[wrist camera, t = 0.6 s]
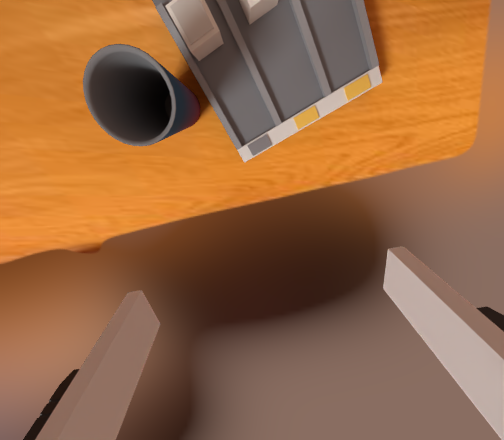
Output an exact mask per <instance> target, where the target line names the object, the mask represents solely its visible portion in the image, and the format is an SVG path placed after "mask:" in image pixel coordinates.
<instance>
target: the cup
mask: <svg viewBox="0 0 504 440" xmlns="http://www.w3.org/2000/svg"><path fill="white" fill-rule="evenodd" d="M83 90H84V95H85V100H86V103H87V105H88V108H89V110H90V112H91V114H92V115H93V117H94V119H95V120H96V121H97V123H98V124H99V125H100V127H101V128H102V129H104V130H105V131H106V132H107V133H108V134H109V135H111V136H112V137H113V138H115V139H116V140H119V141H121V142H123V143H125V144H129V145H133V146H147V145H151V144H154V143H157V142H159V141H161V140H163V139H165V138H167V137H169V136H171V135H173V134H176V133H178V132H180V131H182V130H184V129H186V128H188V127H190V126H192V125H194V124H195V123H196V122H197V120H198V118H199V116H200V104H199V101H198V99H197V97H196V96H195V95H194V93H193V92H192V91H190V90H189V89H188V88H187V87H186V86H185V85H184V84H182V83H181V82H180V81H179V80H178V79H177V78H175V77H174V76H173V75H172V74H171V73H170V72H169V71H167V70H166V69H165V68H164V67H163V66H162V65H161V64H159V63H158V62H157V61H156V60H155V59H154V58H152V57H151V56H150V55H149V54H148V53H146V52H144V51H142V50H140V49H139V48H136V47H133V46H130V45H124V44H114V45H108V46H106V47H104V48H102V49H100V50H99V51H97V52H96V53H95V54H94V55H93V56H92V57H91V59H90V60H89V62H88V64H87V66H86V69H85V72H84V78H83Z"/></svg>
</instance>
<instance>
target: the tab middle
mask: <svg viewBox="0 0 504 440" xmlns="http://www.w3.org/2000/svg"><path fill="white" fill-rule="evenodd" d="M239 2H240V4H241V6H242V9H243V11H244V13H245V16H246V18H247V20H248V22H249V25H250V24H252V23H253V22H254V21H256V20H257V19H258V18H260V17H261V16H263V15H264V14H265V13H267V12H268V11H270V10H271V9H272V8H274V7H275V6H277V4H278V0H239Z"/></svg>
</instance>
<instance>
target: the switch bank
mask: <svg viewBox="0 0 504 440" xmlns="http://www.w3.org/2000/svg"><path fill="white" fill-rule="evenodd" d="M152 1H153V2H154V4H155V6H156V9H157V11H158V13H159V14H160V16H161V18H162V20H163V21H164V23H165V25H166V27H167V28H168V30H169V32H170V34H171V35H172V37H173V39H174V41H175V42H176V44H177V46H178V48H179V49H180V51H181V53H182V55H183V56H184V58H185V60H186V62H187V63H188V65H189V67H190V69H191V70H192V72H193V74H194V75H195V77H196V79H197V81H198V82H199V84H200V86H201V88H202V89H203V91H204V93H205V95H206V96H207V98H208V100H209V102H210V103H211V105H212V107H213V109H214V110H215V112H216V114H217V116H218V117H219V119H220V121H221V123H222V124H223V126H224V128H225V130H226V131H227V133H228V135H229V137H230V138H231V140H232V142H233V144H234V145H235V147H236V149H237V150H238V152H239V154H240V155H241V157H242V159H243V161H244V162H246V161H248V160H250V159H251V158H253V157H255V156H257V155H258V154H260V153H262V152H263V151H265V150H267V149H269V148H270V147H272V146H274V145H275V144H277V143H279V142H281V141H282V140H284V139H286V138H288V137H289V136H291V135H293V134H294V133H296V132H298V131H300V130H301V129H303V128H305V127H306V126H308V125H310V124H312V123H313V122H315V121H317V120H318V119H320V118H322V117H324V116H325V115H327V114H329V113H331V112H332V111H334V110H336V109H337V108H339V107H341V106H343V105H344V104H346V103H348V102H349V101H351V100H353V99H355V98H356V97H358V96H360V95H361V94H363V93H365V92H367V91H368V90H370V89H372V88H373V87H375V86H377V85H379V84H380V83H382V78H381V74H380V70H379V62H378V57H377V53H376V49H375V45H374V41H373V37H372V33H371V29H370V25H369V21H368V17H367V13H366V8H365V4H364V0H278V4H277V6H275V7H274V8H272V9H271V10H270V11H268V12H267V13H265V14H264V15H263V16H261V17H260V18H258V19H257V20H256V21H254V22H253V23H252V24H250V25H249V22H248V20H247V18H246V16H245V13H244V11H243V9H242V6H241V4H240V2H239V0H205V2H206V4H207V6H208V8H209V10H210V12H211V14H212V16H213V18H214V20H215V22H216V24H217V26H218V28H219V30H220V33H221V37H222V40H223V43H224V44H222V45H221V46H220V47H218V48H217V49H215V50H214V51H213V52H211V53H210V54H208V55H207V56H206V57H204V58H203V59H201V60H200V61H198V60H197V58H196V57H195V56H194V55H193V54H192V53H191V52H190V50H189V48H188V46H187V44H186V43H185V41H184V39H183V37H182V35H181V34H180V32H179V30H178V28H177V26H176V25H175V23H174V21H173V19H172V17H171V16H170V14H169V12H168V10H167V8H166V7H165V6H166V5H167V4H168V3H170V2H171V1H172V0H152Z"/></svg>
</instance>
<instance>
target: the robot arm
mask: <svg viewBox="0 0 504 440" xmlns="http://www.w3.org/2000/svg"><path fill="white" fill-rule="evenodd" d="M383 289H384V290H385V291H386V293H387V294H388V295H389V297H390V298H391V299H392V300H393V302H394V303H395V304H396V306H397V307H398V308H399V309H400V311H401V312H402V313H403V314H404V316H405V317H406V318H407V320H408V321H409V322H410V323H411V325H412V326H413V327H414V328H415V330H416V331H417V332H418V334H419V335H420V336H421V337H422V339H423V340H424V341H425V342H426V344H427V345H428V346H429V348H430V349H431V350H432V351H433V353H434V354H435V355H436V357H437V358H438V359H439V360H440V362H441V363H442V364H443V365H444V367H445V368H446V369H447V370H448V372H449V373H450V374H451V376H452V377H453V378H454V379H455V381H456V382H457V383H458V385H459V386H460V387H461V388H462V389H463V391H464V392H465V394H466V395H467V396H468V397H469V399H470V400H471V401H472V402H473V404H474V405H475V406H476V408H477V409H478V410H479V411H480V413H481V414H482V415H483V416H484V418H485V419H486V420H487V422H488V423H489V424H490V425H491V427H492V428H493V429H494V430H495V432H496V433H497V434H498V436H499V437H500V438H501V439H502V440H504V315H502V314H500V313H498V312H496V311H494V310H492V309H491V308H489V307H482V308H475V307H474V306H473V305H472V304H471V303H469V302H468V301H467V300H466V299H465V298H463V297H462V296H461V295H460V294H459V293H457V292H456V291H455V290H454V289H453V288H452V287H450V286H449V285H448V284H447V283H446V282H445V281H444V280H442V279H441V278H440V277H439V276H438V275H436V274H435V273H434V272H433V271H432V270H431V269H429V268H428V267H427V266H426V265H425V264H423V263H422V262H421V261H420V260H419V259H418V258H417V257H415V256H414V255H413V254H412V253H410V252H409V251H408V250H407V249H406V248H405V247H404V246H402V247H396V248H390V249H388V254H387V262H386V270H385V278H384V286H383ZM159 326H160V323H159V321H158V319H157V318H156V316H155V314H154V312H153V310H152V308H151V306H150V305H149V303H148V301H147V299H146V297H145V296H144V294H143V292H142V291H141V290H140V291H134V292H128V293H127V295H126V296H125V298H124V300H123V301H122V303H121V304H120V306H119V307H118V309H117V311H116V312H115V314H114V316H113V317H112V319H111V320H110V322H109V323H108V325H107V327H106V328H105V330H104V331H103V333H102V335H101V336H100V338H99V339H98V341H97V342H96V344H95V346H94V347H93V349H92V350H91V352H90V354H89V355H88V357H87V358H86V360H85V361H84V363H83V365H82V366H81V368H80V369H76V370H73V371H72V372H71V373H70V374H69V376H67V378H66V379H65V380H64V381H63V382H62V383H61V384H60V385H59V387H58V388H57V390H56V391H55V393H54V394H53V396H52V397H51V399H50V400H49V403H48V404H47V405H46V406H45V408H44V409H43V411H42V412H41V414H40V417H39V418H37V420H36V421H35V423H34V424H33V426H32V427H31V429H30V430H29V432H28V433H27V435H26V436H25V438H24V439H23V440H116V437H117V435H118V432H119V429H120V427H121V424H122V422H123V419H124V416H125V414H126V412H127V409H128V406H129V403H130V401H131V399H132V396H133V393H134V391H135V388H136V386H137V383H138V380H139V378H140V375H141V373H142V370H143V367H144V365H145V362H146V360H147V357H148V355H149V352H150V349H151V347H152V344H153V342H154V339H155V336H156V334H157V331H158V329H159Z"/></svg>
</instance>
